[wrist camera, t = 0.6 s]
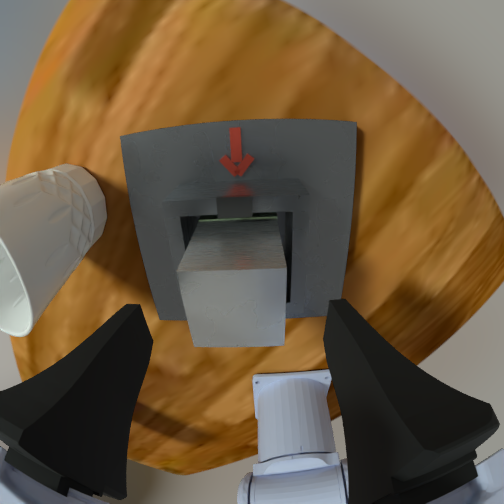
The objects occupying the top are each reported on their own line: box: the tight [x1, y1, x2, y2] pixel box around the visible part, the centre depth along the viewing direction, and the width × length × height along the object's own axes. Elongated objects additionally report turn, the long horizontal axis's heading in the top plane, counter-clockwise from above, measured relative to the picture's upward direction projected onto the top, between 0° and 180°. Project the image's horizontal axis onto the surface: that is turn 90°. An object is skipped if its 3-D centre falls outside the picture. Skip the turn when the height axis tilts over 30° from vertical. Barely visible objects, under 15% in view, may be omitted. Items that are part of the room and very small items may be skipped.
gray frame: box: [120, 119, 357, 320], centre depth 16 cm, size 14×14×5 cm
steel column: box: [176, 212, 287, 347], centre depth 14 cm, size 4×4×7 cm
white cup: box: [0, 164, 107, 337], centre depth 13 cm, size 8×8×10 cm
